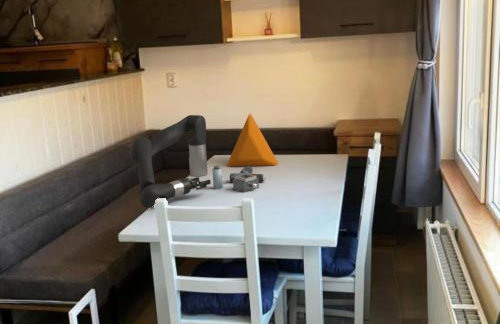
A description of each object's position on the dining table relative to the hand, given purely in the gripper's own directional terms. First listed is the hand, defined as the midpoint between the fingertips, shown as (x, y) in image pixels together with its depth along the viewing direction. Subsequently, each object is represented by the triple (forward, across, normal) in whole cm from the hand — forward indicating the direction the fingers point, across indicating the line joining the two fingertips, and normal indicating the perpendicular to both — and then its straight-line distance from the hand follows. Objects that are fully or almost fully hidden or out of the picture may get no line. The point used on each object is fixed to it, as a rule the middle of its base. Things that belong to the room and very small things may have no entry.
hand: (204, 180), depth 272 cm
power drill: (+31, -1, +7) cm, 32 cm away
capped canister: (+9, 0, +6) cm, 10 cm away
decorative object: (+55, +21, +7) cm, 59 cm away
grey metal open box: (+16, -15, +6) cm, 22 cm away
